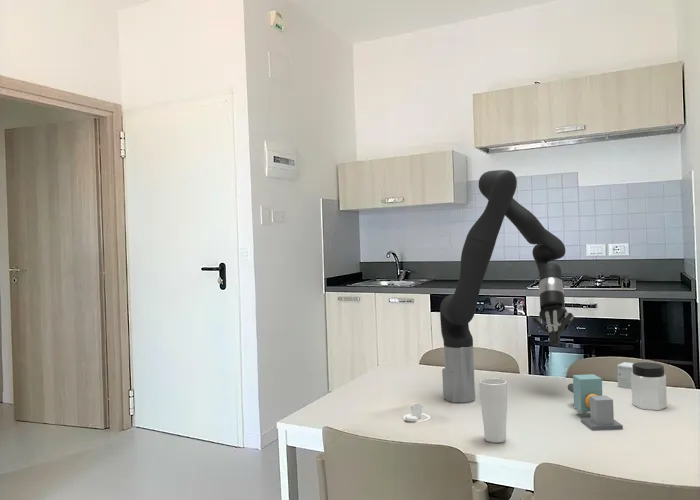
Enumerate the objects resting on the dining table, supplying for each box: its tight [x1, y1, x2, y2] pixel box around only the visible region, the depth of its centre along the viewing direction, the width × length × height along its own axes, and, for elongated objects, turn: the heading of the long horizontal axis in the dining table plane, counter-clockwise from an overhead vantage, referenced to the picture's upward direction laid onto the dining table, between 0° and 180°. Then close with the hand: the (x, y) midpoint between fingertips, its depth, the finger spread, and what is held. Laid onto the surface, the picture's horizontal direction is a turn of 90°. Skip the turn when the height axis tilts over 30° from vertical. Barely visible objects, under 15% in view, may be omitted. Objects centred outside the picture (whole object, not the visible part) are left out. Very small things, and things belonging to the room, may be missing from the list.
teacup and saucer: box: [402, 403, 432, 423], centre depth 160 cm, size 9×8×4 cm
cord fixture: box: [567, 382, 624, 431], centre depth 155 cm, size 23×8×8 cm, turn 0°
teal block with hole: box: [572, 373, 603, 413], centre depth 155 cm, size 5×6×9 cm
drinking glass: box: [479, 377, 508, 444], centre depth 140 cm, size 7×7×15 cm
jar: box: [631, 361, 668, 411], centre depth 162 cm, size 9×8×12 cm
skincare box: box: [616, 361, 635, 390], centre depth 183 cm, size 6×6×7 cm
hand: (555, 344), depth 171 cm, fingers closed
